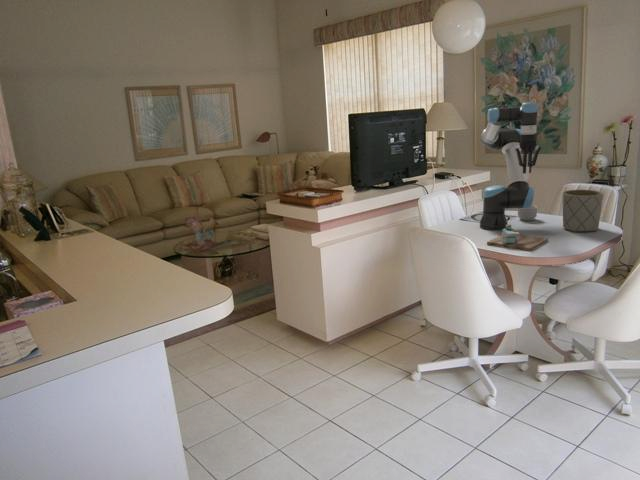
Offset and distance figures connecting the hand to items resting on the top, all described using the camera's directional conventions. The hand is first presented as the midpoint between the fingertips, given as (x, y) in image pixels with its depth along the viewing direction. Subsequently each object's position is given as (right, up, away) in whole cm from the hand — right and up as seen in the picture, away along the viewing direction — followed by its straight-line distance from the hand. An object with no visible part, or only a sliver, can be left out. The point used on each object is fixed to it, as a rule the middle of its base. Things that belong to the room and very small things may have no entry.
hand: (526, 179), depth 260 cm
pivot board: (-8, -33, -9) cm, 36 cm away
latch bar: (-11, -31, -6) cm, 33 cm away
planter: (+32, -26, +8) cm, 42 cm away
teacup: (+16, -19, +38) cm, 45 cm away
